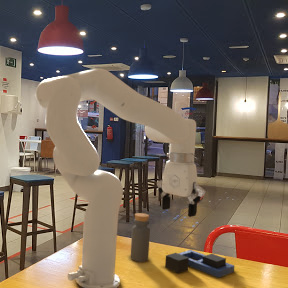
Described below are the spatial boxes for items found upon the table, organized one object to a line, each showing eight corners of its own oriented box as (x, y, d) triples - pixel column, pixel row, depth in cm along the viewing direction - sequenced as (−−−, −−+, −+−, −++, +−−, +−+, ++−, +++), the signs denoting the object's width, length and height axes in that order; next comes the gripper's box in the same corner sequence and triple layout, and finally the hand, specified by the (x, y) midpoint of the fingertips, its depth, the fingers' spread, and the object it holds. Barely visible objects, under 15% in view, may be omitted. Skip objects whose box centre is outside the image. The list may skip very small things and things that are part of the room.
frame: (218, 277, 114) (219, 271, 114) (174, 260, 127) (174, 254, 126) (234, 271, 119) (234, 265, 119) (190, 255, 132) (190, 249, 132)
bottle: (147, 256, 129) (149, 213, 128) (149, 262, 123) (151, 217, 122) (129, 254, 130) (132, 212, 128) (131, 261, 124) (133, 216, 123)
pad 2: (216, 274, 116) (217, 261, 116) (201, 268, 120) (202, 256, 120) (225, 270, 119) (226, 258, 119) (210, 265, 123) (211, 253, 123)
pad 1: (178, 273, 116) (179, 260, 115) (164, 267, 120) (165, 255, 119) (188, 269, 119) (188, 257, 118) (174, 264, 123) (175, 252, 122)
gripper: (151, 155, 122) (149, 208, 123) (198, 162, 108) (195, 221, 109) (166, 154, 126) (163, 205, 127) (213, 161, 112) (210, 217, 114)
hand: (178, 212), depth 118 cm, fingers open, 9 cm apart
